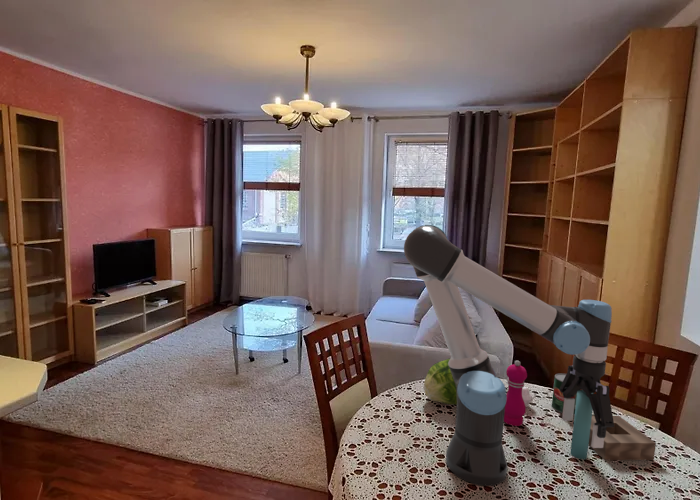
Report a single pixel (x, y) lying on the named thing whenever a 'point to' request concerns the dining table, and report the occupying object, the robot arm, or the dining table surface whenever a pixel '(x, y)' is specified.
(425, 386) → the lettuce
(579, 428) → the peg
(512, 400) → the pepper mill
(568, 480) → the dining table surface
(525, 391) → the white citrus juicer
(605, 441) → the socket block
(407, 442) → the dining table surface
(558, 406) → the canned tomato
